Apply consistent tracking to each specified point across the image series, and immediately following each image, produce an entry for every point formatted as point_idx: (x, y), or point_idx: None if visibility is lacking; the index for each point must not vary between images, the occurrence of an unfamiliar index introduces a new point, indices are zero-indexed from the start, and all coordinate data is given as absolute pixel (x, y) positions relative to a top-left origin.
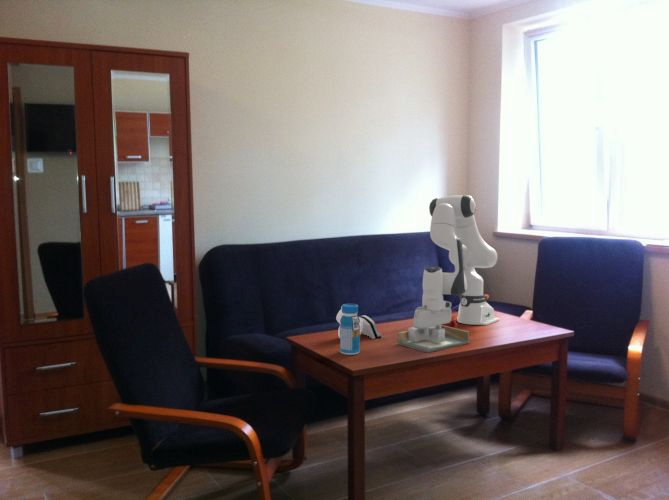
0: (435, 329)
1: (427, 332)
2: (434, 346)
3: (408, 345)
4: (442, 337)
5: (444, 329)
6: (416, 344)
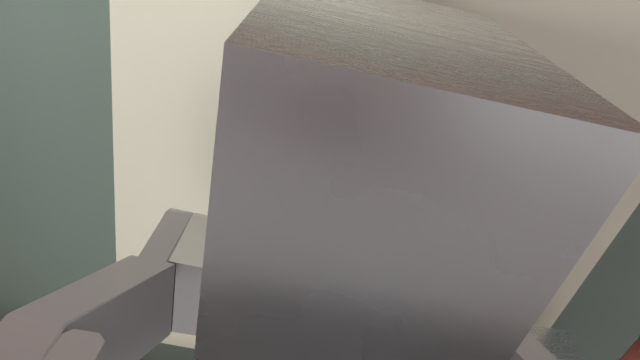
0: (527, 285)
1: (542, 355)
2: (599, 21)
3: (628, 335)
4: (368, 5)
5: (253, 38)
6: (577, 287)
